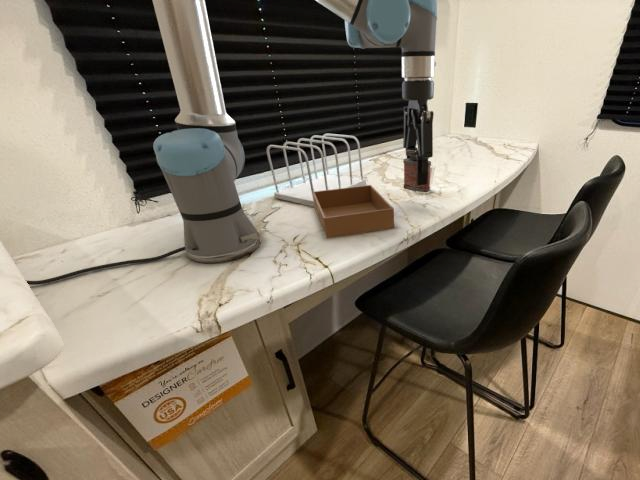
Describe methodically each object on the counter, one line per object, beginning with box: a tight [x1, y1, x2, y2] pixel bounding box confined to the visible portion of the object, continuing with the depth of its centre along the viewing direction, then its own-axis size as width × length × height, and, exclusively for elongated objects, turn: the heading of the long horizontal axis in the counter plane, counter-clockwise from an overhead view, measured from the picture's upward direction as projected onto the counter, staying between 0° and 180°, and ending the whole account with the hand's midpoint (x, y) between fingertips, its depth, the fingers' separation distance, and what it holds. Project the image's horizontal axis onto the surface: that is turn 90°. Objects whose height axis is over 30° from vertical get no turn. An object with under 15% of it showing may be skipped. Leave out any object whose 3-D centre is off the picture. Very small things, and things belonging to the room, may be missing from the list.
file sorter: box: [266, 133, 367, 208], centre depth 102 cm, size 25×17×16 cm
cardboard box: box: [312, 184, 395, 239], centre depth 86 cm, size 17×21×5 cm
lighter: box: [402, 149, 432, 193], centre depth 87 cm, size 8×3×10 cm, turn 58°
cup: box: [415, 163, 436, 195], centre depth 104 cm, size 7×10×8 cm
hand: (416, 180), depth 89 cm, fingers closed on lighter, 7 cm apart
